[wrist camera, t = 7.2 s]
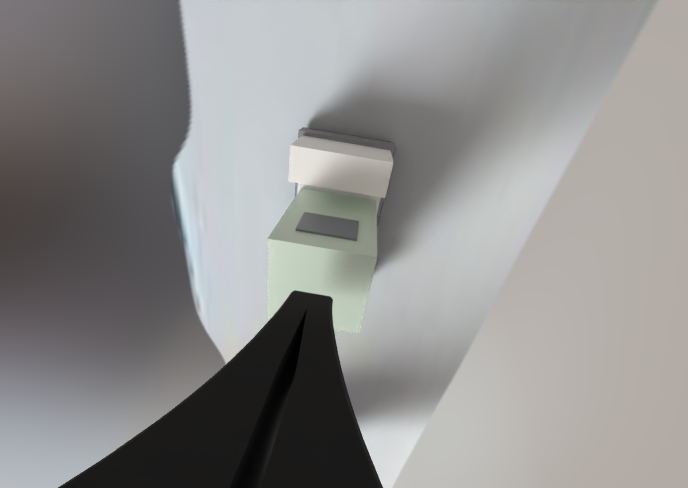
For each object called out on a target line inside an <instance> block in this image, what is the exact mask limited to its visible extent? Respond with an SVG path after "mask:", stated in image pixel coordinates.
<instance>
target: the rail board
mask: <svg viewBox="0 0 688 488" xmlns="http://www.w3.org/2000/svg"><path fill="white" fill-rule="evenodd" d="M394 151H395V144H394V143H392V142H386V141H380V140H374V139H368V138H363V137H357V136H351V135H345V134H339V133H333V132H327V131H321V130H315V129H310V128H304V127H303V128H302V129H300V130H299V135H298V139H297V140H296V141H295V142H293V143H292V144H291V145H290V160H289V182H293V183H296V186H295V197H296V195H297V194H298V192H299V191H300V189H301V188H304V189H310V190H316V191H322V192H328V193H334V194H340V195H346V196H352V197H358V198H364V199H370V200H376V211H377V225H378V221H379V216H380V212H381V208H382V203H383V199H384V198H385V197H386V193H387V188H388V184H389V180H390V176H391V171H392V167H393V156H394Z"/></svg>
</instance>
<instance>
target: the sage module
mask: <svg viewBox="0 0 688 488" xmlns="http://www.w3.org/2000/svg"><path fill="white" fill-rule="evenodd" d="M376 261H377V211H376V200H370V199H364V198H358V197H352V196H346V195H340V194H334V193H328V192H322V191H316V190H310V189H304V188H301V189H300V191H299V192H298V194H297V195H296V197H295V198H294V200H293V201H292V203H291V204H290V206H289V207H288V209H287V210H286V212H285V213H284V215H283V216H282V218H281V219H280V221H279V222H278V224H277V225H276V227H275V228H274V230H273V231H272V233H271V234H270V236H269V237H268V287H267V318H269V319H271V318H272V317H273V316H274V314H275V313H276V312H277V311H278V310H279V308H280V307H281V306H282V304H283V303H284V302H285V301H286V299H287V298H288V296H289V295H290V293H291V292H293V291H294V290H296V291H302V292H308V293H313V294H319V295H325V296H330V297H331V298H332V299H333V304H332V315H333V327H334V330H339V331H345V332H351V333H357V334H359V331H360V327H361V323H362V319H363V315H364V311H365V307H366V303H367V298H368V294H369V290H370V286H371V282H372V278H373V274H374V269H375V265H376Z"/></svg>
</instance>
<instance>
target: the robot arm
mask: <svg viewBox="0 0 688 488" xmlns="http://www.w3.org/2000/svg"><path fill="white" fill-rule="evenodd" d="M332 304H333V299H332V298H331V297H330V296H325V295H319V294H313V293H308V292H302V291H296V290H294V291H293V292H291V293H290V295H289V296H288V298H287V299H286V301H285V302H284V303H283V304H282V306H281V307H280V308H279V310H278V311H277V312H276V313H275V314H274V316H273V317H272V318H271V319H270V320H269V321H268V322H267V324H266V325H265V326H264V327H263V328H262V329H261V330H260V331H259V332H258V333H257V335H256V336H255V337H254V338H253V339H252V340H251V341H250V342H249V343H248V344H247V345H246V346H245V347H244V348H243V349H242V350H241V351H240V352H239V353H238V354H237V355H236V356H235V357H234V358H233V359H232V360H231V361H229V362H228V363H227V364H226V365H225V366H224V367H223V368H222V369H221V370H220V371H218V372H217V373H216V374H215V375H214V376H213V377H212V378H210V379H209V380H208V381H207V382H206V383H205V384H203V385H202V386H201V387H200V388H199V389H197V390H196V391H195V392H194V393H192V394H191V395H190V396H189V397H188V398H186V399H185V400H184V401H182V402H181V403H180V404H179V405H177V406H176V407H175V408H174V409H172V410H171V411H170V412H169V413H167V414H166V415H164V416H163V417H162V418H160V419H159V420H158V421H156V422H155V423H154V424H152V425H151V426H149V427H148V428H147V429H145V430H143V431H142V432H141V433H139V434H138V435H136V436H135V437H134V438H132V439H131V440H129V441H128V442H127V443H125V444H124V445H122V446H121V447H119V448H118V449H117V450H115V451H114V452H112V453H111V454H109V455H108V456H106V457H105V458H103V459H102V460H101V461H99V462H97V463H96V464H94V465H93V466H91V467H90V468H88V469H87V470H85V471H84V472H82V473H80V474H79V475H77V476H76V477H74V478H72V479H71V480H69V481H68V482H66V483H65V484H63V485H61V486H60V487H58V488H383V487H382V484H381V482H380V479H379V477H378V474H377V472H376V470H375V467H374V465H373V462H372V460H371V457H370V455H369V452H368V450H367V447H366V445H365V442H364V440H363V437H362V434H361V431H360V428H359V425H358V423H357V420H356V417H355V414H354V411H353V408H352V405H351V402H350V398H349V395H348V392H347V388H346V385H345V381H344V377H343V373H342V369H341V365H340V361H339V356H338V351H337V346H336V340H335V334H334V327H333V315H332Z"/></svg>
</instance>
